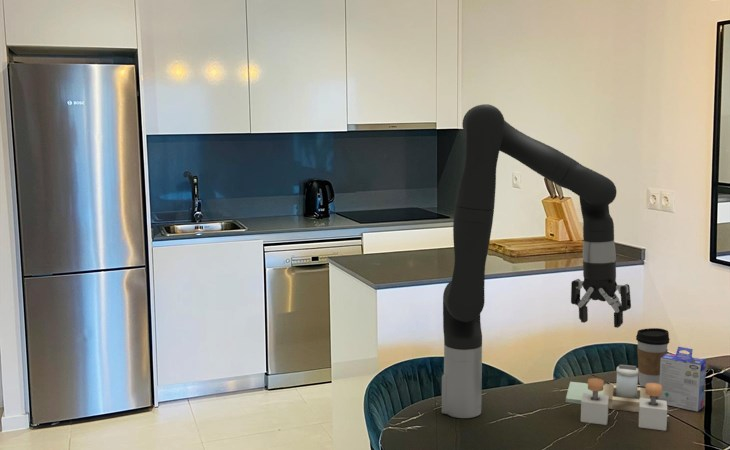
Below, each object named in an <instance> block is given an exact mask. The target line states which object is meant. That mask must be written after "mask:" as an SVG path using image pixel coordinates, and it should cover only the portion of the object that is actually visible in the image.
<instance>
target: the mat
mask: <svg viewBox="0 0 730 450" xmlns="http://www.w3.org/2000/svg"><path fill="white" fill-rule="evenodd" d="M604 386H605V384H604ZM604 386H603V391H598V395H603V393H604ZM583 393H588V394H593V391H591V390H589V389H588V382H587V383H586V382H577V381H569V385H568V389H567V393H566V395H565V403H571V404H577V405H581V400H582V396H583Z"/></svg>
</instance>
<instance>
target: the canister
mask: <svg viewBox="0 0 730 450" xmlns="http://www.w3.org/2000/svg"><path fill="white" fill-rule="evenodd" d="M638 383H639V370H638V367H637V366H636V365H629V364H628V365H627V364H620V363H619V365H618V366H617V367H616V384H615V385H616V397H623V398H632V399H637V387H638Z"/></svg>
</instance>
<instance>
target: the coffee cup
mask: <svg viewBox="0 0 730 450" xmlns="http://www.w3.org/2000/svg"><path fill="white" fill-rule="evenodd" d="M635 340H636V341H637V347H636V350H637V351H636V352H637V364H638V365H637V366H638V367H637V368H638V370H639V371H638V383H639V385H640V386H641V387H643V388H646V384H647V383H657V384H659V380H660V360H661V357H663V356H664V355H665V354H668V352H669V351H668V344H670V340H671V339H670V334H669V330H667V329H663V328H659V327H658V328H656V327H655V328H654V327H652V328H651V327H650V328H643V329H639V330H637V333H636V336H635Z"/></svg>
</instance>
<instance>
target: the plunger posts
mask: <svg viewBox="0 0 730 450" xmlns="http://www.w3.org/2000/svg"><path fill="white" fill-rule="evenodd" d="M650 401H651V398H650V399H646V398H640V399H639V412H638V428H642V429H650V430H659V431H667V428H668V427H667V426H668V425H667V423H668V405H667V401H664V400H658V399H656V406H655V405H650ZM608 404H609V396H606V395H598V400H593V394H588V393H583V396H582V400H581V404H580V422H581V423H582V422H583V423H589V424H596V425H604V426H607V425H608V420H609V409H608Z"/></svg>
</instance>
